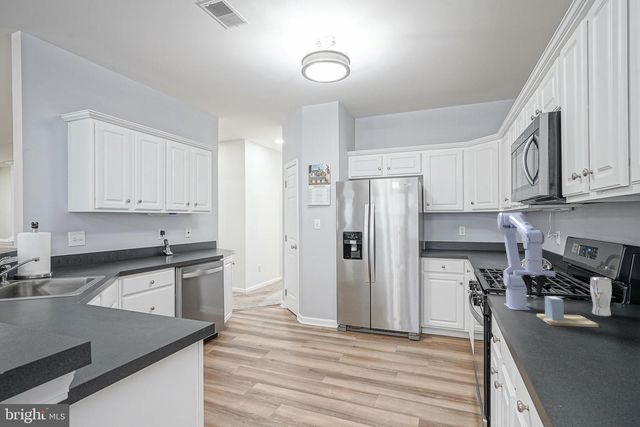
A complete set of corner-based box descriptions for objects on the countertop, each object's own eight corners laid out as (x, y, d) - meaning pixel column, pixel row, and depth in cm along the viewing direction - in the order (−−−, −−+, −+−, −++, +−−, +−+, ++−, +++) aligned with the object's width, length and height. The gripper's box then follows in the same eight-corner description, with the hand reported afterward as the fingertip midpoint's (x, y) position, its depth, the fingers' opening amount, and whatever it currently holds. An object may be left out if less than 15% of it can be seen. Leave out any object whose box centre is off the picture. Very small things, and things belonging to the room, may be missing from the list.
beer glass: (589, 311, 144) (588, 276, 144) (610, 313, 141) (609, 277, 141) (592, 315, 138) (591, 279, 138) (614, 317, 135) (613, 280, 135)
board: (536, 316, 139) (536, 313, 139) (580, 317, 136) (579, 315, 136) (550, 325, 127) (550, 322, 127) (598, 327, 124) (598, 324, 124)
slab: (545, 315, 135) (544, 295, 136) (556, 316, 135) (555, 296, 135) (552, 320, 130) (551, 299, 130) (564, 320, 129) (563, 299, 129)
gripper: (517, 261, 131) (518, 295, 131) (558, 261, 128) (559, 297, 128) (511, 259, 138) (511, 291, 138) (550, 259, 135) (550, 292, 135)
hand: (534, 294), depth 133 cm, fingers open, 3 cm apart
